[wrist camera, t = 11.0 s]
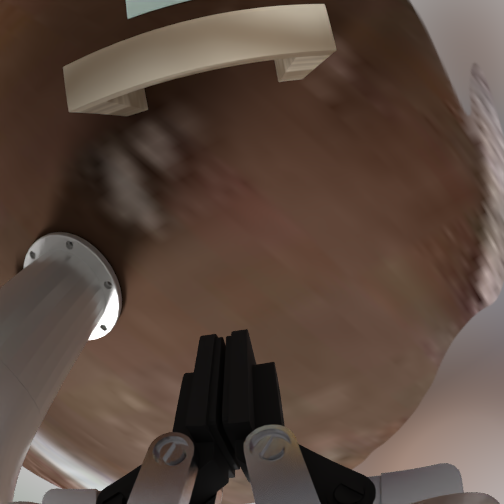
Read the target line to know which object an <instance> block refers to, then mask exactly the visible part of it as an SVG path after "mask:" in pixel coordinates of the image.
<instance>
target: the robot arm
mask: <svg viewBox="0 0 504 504" xmlns="http://www.w3.org/2000/svg"><path fill="white" fill-rule="evenodd" d="M121 309H122V295H121V289H120V285H119V282H118V279H117V277H116V275H115V273H114V271H113V269H112V267H111V265H110V264H109V263H108V261H107V260H106V258H105V257H104V256H103V255H102V254H101V253H100V252H99V251H98V250H97V249H96V248H95V247H94V246H93V245H91V244H90V243H89V242H88V241H86V240H84V239H82V238H80V237H79V236H77V235H73V234H70V233H66V232H54V233H49V234H47V235H45V236H43V237H41V238H40V239H38V240H37V241H35V242H34V243H33V245H32V246H31V247H30V248H29V250H28V252H27V254H26V257H25V261H24V269H23V270H22V271H20V272H19V273H18V274H17V275H15V276H14V277H13V278H12V279H10V280H9V281H8V282H7V283H6V284H4V285H3V286H2V287H1V288H0V504H38V503H33V502H21V501H19V502H13V497H14V491H15V487H16V483H17V479H18V475H19V473H20V470H21V467H22V464H23V461H24V459H25V456H26V454H27V452H28V449H29V447H30V445H31V443H32V440H33V438H34V436H35V434H36V432H37V430H38V428H39V426H40V424H41V423H42V421H43V419H44V417H45V415H46V413H47V411H48V409H49V407H50V405H51V404H52V402H53V400H54V398H55V396H56V394H57V393H58V391H59V389H60V387H61V385H62V384H63V382H64V380H65V378H66V377H67V375H68V373H69V371H70V370H71V368H72V366H73V364H74V363H75V361H76V359H77V358H78V356H79V354H80V353H81V351H82V349H83V348H84V346H85V345H86V343H87V341H88V340H93V339H98V338H101V337H103V336H105V335H106V334H107V333H109V332H110V331H111V330H112V328H113V327H114V326H115V324H116V322H117V320H118V318H119V316H120V313H121ZM240 467H241V469H242V471H243V472H244V474H245V476H246V478H247V480H248V481H249V482H250V483H251V486H252V491H253V495H254V499H255V503H256V504H499V502H498V501H497V500H496V499H495V498H493V497H492V496H490V495H488V494H485V493H478V492H466V493H464V492H463V484H462V478H461V475H460V472H459V470H458V469H457V468H456V467H455V466H454V465H451V464H448V463H444V464H436V465H431V466H426V467H421V468H415V469H410V470H404V471H396V472H390V473H381V476H372V477H366V476H364V475H362V474H360V473H358V472H355V471H353V470H351V469H349V468H346V467H344V466H342V465H340V464H338V463H335V462H333V461H331V460H329V459H327V458H325V457H323V456H321V455H319V454H317V453H315V452H313V451H311V450H309V449H307V448H305V447H303V446H301V445H299V444H298V442H297V440H296V437H295V435H294V434H293V432H292V431H290V430H289V429H288V428H286V427H285V426H284V419H283V411H282V404H281V397H280V390H279V384H278V378H277V373H276V368H275V363H274V362H270V363H264V364H258V365H256V362H255V357H254V353H253V349H252V345H251V341H250V337H249V333H248V330H247V329H246V330H239V331H233V332H232V334H231V336H227V337H226V346H225V342H224V339H223V337H220V338H218V337H217V335H216V334H212V335H205V336H201V337H200V340H199V346H198V352H197V357H196V363H195V369H194V373H185V374H184V376H183V380H182V385H181V390H180V395H179V400H178V405H177V411H176V416H175V421H174V427H173V432H169V433H166V434H163V435H161V436H159V437H157V438H156V439H155V440H154V441H153V442H152V443H151V445H150V447H149V449H148V451H147V454H146V456H145V459H144V461H143V464H142V465H140V466H139V467H137V468H136V469H134V470H133V471H131V472H130V473H128V474H127V475H125V476H124V477H122V478H120V479H119V480H117V481H116V482H114V483H112V484H111V485H109V486H108V487H106V488H105V489H103V490H102V491H98V490H97V489H51V490H49V491H48V492H47V493H46V494H45V495H44V497H43V501H42V504H221V499H222V494H223V487H224V486H225V485H226V484H227V483H228V482H229V478H233V477H235V470H237V469H240Z"/></svg>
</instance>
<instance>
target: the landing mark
mask: <svg viewBox="0 0 504 504" xmlns="http://www.w3.org/2000/svg"><path fill="white" fill-rule="evenodd" d="M186 1H190V0H126V9H127V18H128V19H130V18H133V17H136V16H138V15H141V14H144V13H147V12H151V11H154V10H157V9H160V8H164V7H167V6H171V5H174V4H178V3H182V2H186Z"/></svg>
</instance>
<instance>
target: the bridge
mask: <svg viewBox="0 0 504 504" xmlns="http://www.w3.org/2000/svg"><path fill="white" fill-rule="evenodd" d="M335 51H336V45H335V41H334V37H333V33H332V29H331V25H330V22H329V18H328V14H327V11H326V7H325V4H300V5H283V6H271V7H261V8H253V9H246V10H239V11H232V12H227V13H221V14H216V15H211V16H206V17H201V18H197V19H192V20H188V21H184V22H180V23H177V24H173V25H169V26H166V27H162V28H159V29H156V30H152V31H149V32H146V33H143V34H140V35H137V36H134V37H132V38H129V39H126V40H123V41H121V42H118V43H115V44H113V45H110V46H108V47H105V48H103V49H101V50H98V51H96V52H94V53H91V54H89V55H87V56H85V57H83V58H81V59H78V60H76V61H74V62H72V63H70V64H68V65H66V66H64V67H63V73H64V82H65V90H66V97H67V104H68V110H69V112H77V113H93V114H106V115H117V116H130V115H133V114H136V113H139V112H142V111H146V110H148V106H147V101H146V95H145V90H144V88H146V87H149V86H152V85H156V84H159V83H163V82H166V81H170V80H173V79H177V78H181V77H185V76H189V75H193V74H197V73H201V72H206V71H210V70H215V69H220V68H225V67H230V66H236V65H242V64H248V63H254V62H261V61H268V60H274V62H275V67H276V71H277V76H278V81H279V82H282V81H290V80H300V79H303V78H304V77H305V76H307V75H308V74H309V73H310V72H311V71H312V70H314V69H315V68H316V67H317V66H318V65H319V64H321V63H322V62H323V61H324V60H325V59H327V58H328V57H329V56H330V55H331V54H333V53H334V52H335Z"/></svg>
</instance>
